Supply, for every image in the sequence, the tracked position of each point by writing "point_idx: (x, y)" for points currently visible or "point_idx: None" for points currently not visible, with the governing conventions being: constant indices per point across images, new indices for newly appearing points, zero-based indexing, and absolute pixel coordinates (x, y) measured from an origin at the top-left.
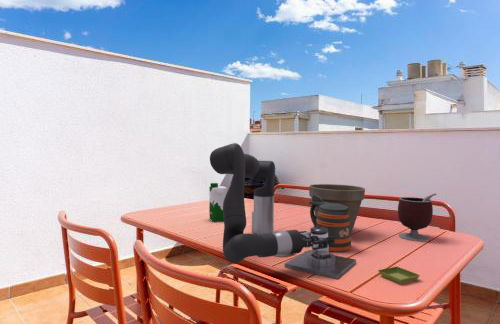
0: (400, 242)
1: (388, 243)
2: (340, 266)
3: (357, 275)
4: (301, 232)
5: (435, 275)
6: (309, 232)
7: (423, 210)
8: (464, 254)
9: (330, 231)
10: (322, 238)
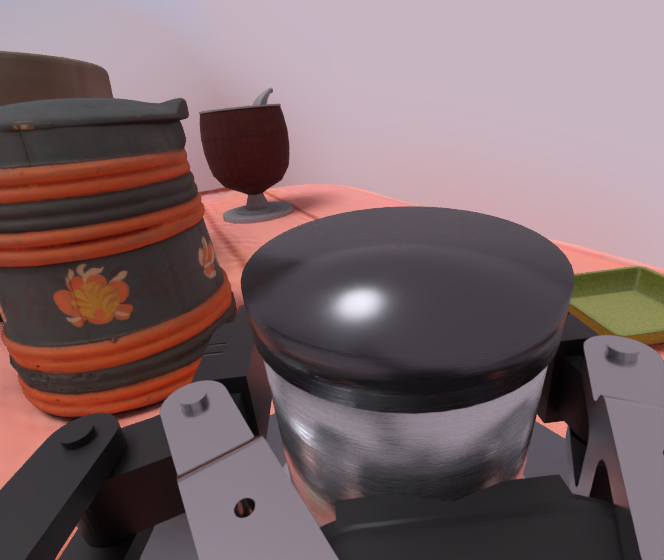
0: (269, 230)
1: (258, 243)
2: (550, 469)
3: None
4: (36, 548)
5: (564, 253)
6: (198, 404)
7: (282, 129)
8: (400, 202)
9: (153, 275)
10: (660, 376)
